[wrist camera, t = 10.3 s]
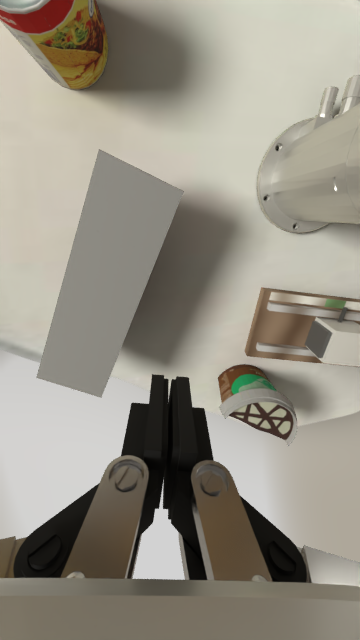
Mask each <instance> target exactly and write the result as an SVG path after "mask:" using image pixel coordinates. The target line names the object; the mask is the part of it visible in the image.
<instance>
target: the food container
mask: <svg viewBox="0 0 360 640" xmlns="http://www.w3.org/2000/svg"><path fill="white" fill-rule="evenodd" d="M218 381H219V388H220V394H221V400H222V404H221V405H220V406H219V408H220V410H221V413H222V415H224V418H225V419H226V418H227V417H228V416H231V417H234V418H236V419H239V420H241V421H243V422H245V423H247V424H248V425H250V426H252V427H254V428H256V429H258V430H261V431H264V432H268V433H270V434H273V435H275V436H277V437H280V438H282V439H284V440H285V442H286V443H287V445H288V446H289V445H290V444H291V443H292V441H293V440H294V438H295V435H296V432H297V418H296V414H295V411H294V408H293V406H292V404H291V402H290V401H289V399H288V398H286V397H285V396H284V395H282V394H281V393H279V392H277V391H276V389H275V388H274V386H273V385H272V384H271V382H270V381H269V380H268V378H267V377H266V376H265V374H264V373H263V372H262V371H261V370H260V369H259V368H257V367H255V366H252V365H245V364H244V365H236V366H233V367H231V368H229V369H227V370H225V371H224V372H223V373H222V374H221V375H220V376H219V377H218Z"/></svg>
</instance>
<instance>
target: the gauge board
mask: <svg viewBox="0 0 360 640" xmlns="http://www.w3.org/2000/svg"><path fill="white" fill-rule="evenodd" d="M343 307H347V308H348V309H347V312H346V314H345V317H344V319H343V320H349V321H354V322H356V323H358V324H359V325H360V299H351V298H343V297H335V296H327V295H318V294H310V293H302V292H294V291H285V290H277V289H269V288H261V291H260V295H259V299H258V302H257V306H256V310H255V314H254V318H253V321H252V325H251V329H250V333H249V337H248V341H247V344H246V348H245V353H246V355H247V356H251V357H261V358H272V359H282V360H292V361H303V362H313V363H322V362H321V361H320V360H319V359H318V358H317V357H316V356H315V355H314V354H313V353H312V352H311V351H310V350H309V349H308V348H307V347H306V345H305V342H306V339H307V336H308V333H309V330H310V328H311V325H312V322H313V321H315V319H316V317H322V318H331V319H339V317H340V314H341V312H342V309H343ZM323 364H326V363H323ZM334 365H336V364H334ZM344 366H347V365H344ZM355 367H357V366H355Z"/></svg>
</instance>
